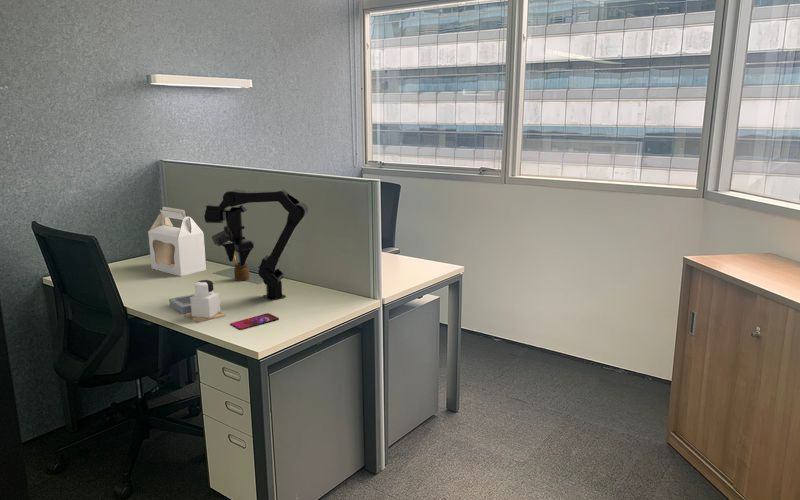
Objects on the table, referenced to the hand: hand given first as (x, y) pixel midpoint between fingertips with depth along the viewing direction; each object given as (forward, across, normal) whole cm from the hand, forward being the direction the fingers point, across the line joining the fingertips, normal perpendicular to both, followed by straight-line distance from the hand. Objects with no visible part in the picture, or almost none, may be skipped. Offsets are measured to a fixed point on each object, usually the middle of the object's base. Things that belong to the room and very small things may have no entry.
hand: (236, 263), depth 227 cm
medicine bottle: (+13, +13, -19) cm, 26 cm away
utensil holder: (+13, -21, +12) cm, 28 cm away
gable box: (+13, -54, -2) cm, 56 cm away
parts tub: (+13, 0, -18) cm, 22 cm away
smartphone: (+14, +30, -9) cm, 34 cm away
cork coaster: (+13, +13, -19) cm, 26 cm away
